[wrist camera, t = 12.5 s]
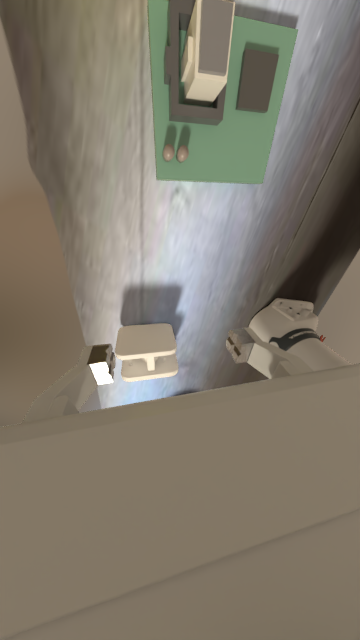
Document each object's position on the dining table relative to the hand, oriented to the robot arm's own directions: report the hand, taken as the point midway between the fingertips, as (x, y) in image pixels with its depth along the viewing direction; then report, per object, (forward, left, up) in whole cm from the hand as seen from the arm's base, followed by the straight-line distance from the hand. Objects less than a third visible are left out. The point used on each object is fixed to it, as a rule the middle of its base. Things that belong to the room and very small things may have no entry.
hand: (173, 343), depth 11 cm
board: (-12, -19, -30) cm, 38 cm away
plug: (-8, -22, -28) cm, 37 cm away
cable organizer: (+3, +25, -30) cm, 39 cm away
